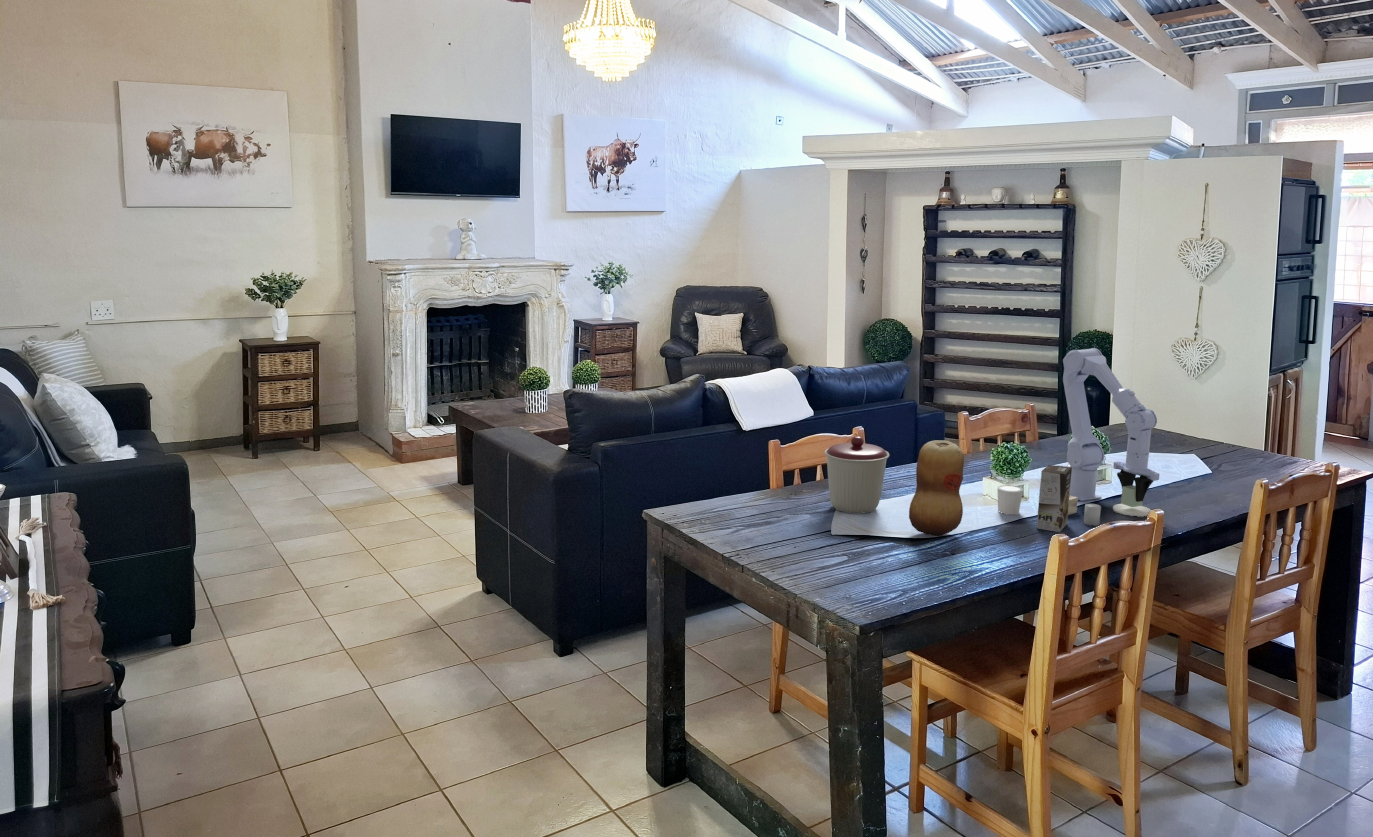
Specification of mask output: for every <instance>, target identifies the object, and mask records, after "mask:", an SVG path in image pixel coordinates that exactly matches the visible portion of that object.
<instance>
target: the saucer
mask: <svg viewBox="0 0 1373 837" xmlns="http://www.w3.org/2000/svg"><path fill="white" fill-rule="evenodd" d="M1112 511H1113V512H1115V513H1116V514H1118V513H1119V515H1122V514H1123V515H1122V516H1126V515H1130V516H1129V517H1133V516H1137V517H1136V518H1145V517H1148V516H1147V514H1148V512H1149V511H1151V512H1152V510H1151V509H1150V508H1149V507H1146V506H1137V507H1130V506H1127V505H1124V504H1121V503H1118V504H1117V503H1116V504H1114V505H1113V506H1112ZM1144 516H1145V517H1144Z"/></svg>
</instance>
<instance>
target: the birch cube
mask: <svg viewBox="0 0 1373 837" xmlns="http://www.w3.org/2000/svg"><path fill="white" fill-rule="evenodd" d="M1078 501H1079V500H1078V497H1074V496H1069V507H1068V516H1069V515H1074V514H1076V513H1077V509H1078Z"/></svg>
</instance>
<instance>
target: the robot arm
mask: <svg viewBox="0 0 1373 837" xmlns="http://www.w3.org/2000/svg"><path fill="white" fill-rule="evenodd" d="M1062 363H1063V376H1062V383H1063V387H1064V394H1065V399H1066V404H1067V412H1068V418H1069V422H1070V428H1071V433H1072V438H1071V439H1070V440H1069V441H1068V443H1067V444H1066V445H1067V454H1066V460H1067V462H1068V465H1066V467H1072V473H1071V484H1070V496H1074V497H1078V501H1081V502H1084V501H1090V500H1098V499H1102V496H1101V495H1097V494H1096V489H1097V478H1098V468H1100V464H1102V463H1103V461H1104V459H1105V453H1104V452H1105V451H1104V450H1103V447H1102V446H1101V443H1100V439H1099V438H1098V437H1096V436H1095V435H1094V434H1093V430H1092V424H1091V418H1090V412H1089V407H1088V406H1089V405H1088V401H1087V395H1086V389H1085V383H1084V382H1085V381H1086V379H1087V378H1088V377H1089V376H1094V377H1095V378H1096V379H1097V380H1098V381H1099V382H1100V383H1101V385H1103V386H1104V387H1105V389H1106V390H1107V391H1108V392H1109V393H1110V394H1111V395H1112V399H1111V401H1112V403H1113V404H1114V406H1115V407H1116V409H1117V410H1118V411H1119V412H1120V413H1121V415H1122V416H1123V417H1124V418H1125V419H1124V424H1125V427H1126V429H1127V447H1126V456H1125V462H1123V461H1114V462H1113V467H1112V468H1113V469H1114V470H1119V472H1117V473H1116V475H1117V478H1118V480H1119V482H1120V486H1121V488H1122V487H1123V486H1130V485H1134V486H1136V501H1137V502H1140V501H1143V502H1144V499H1145V497H1146V493H1147V492H1148V490H1149V488H1150V486H1151V485H1152V484H1153V483H1154V482H1155V481H1159V480H1160V473H1159V472H1157V471H1154V470H1153V469H1150V468H1149V467H1148V466H1149V457H1150V456H1149V455H1150V447H1151V446H1150V445H1151V438H1152V436H1151V435H1152V429H1154V428H1155V427H1156V426H1157V423H1158V421H1157V420H1158V419H1157V416H1156V413H1155V412H1154V411H1153V409H1149V408H1147V407H1145V406H1144V404H1142V402H1141V401H1140V400H1139V398H1137V397H1136V393H1135V391H1134V390H1130V389H1129V388H1124V387H1123V386H1122V384H1121V383H1120V382H1119V380H1118V379H1117V377H1116V376H1115V374H1114V373H1113V371H1112V370H1111V368H1110V367H1109V365H1108V364H1107V357H1106V356H1104V355H1103V354H1102V352H1101V351H1100V349H1098V348H1095V347H1094V348H1093V347H1092V348H1087V349H1085V348H1084V349H1072V350H1070V351H1068V352H1067V353H1066V355H1065V356H1064V358H1063V359H1062Z"/></svg>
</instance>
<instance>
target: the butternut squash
mask: <svg viewBox="0 0 1373 837" xmlns="http://www.w3.org/2000/svg"><path fill="white" fill-rule="evenodd" d="M917 457H918V458H917V462H916V468H915V475H916V476H915V477H916V478H915V481H916V485H915V486H916V488H915V493H914V495H913V497H912V499H911V502H910V504H909V510H908V519H909V521H910V524H911V526H912V527H913V528H914V529H915V530H916V531H917V532H919V533H922V534H924V535H930V536H933V537H942V536H945V535H947V534H949V533H951V532H953V531H955V530H956V529H957V528H958V527H959V526H960V524H961V522H962V519H963V514H964V508H963V507H964V506H963V501H962V498H961V495H960V489H961V486H962V483H963V480H964V466H965V465H964V464H965V463H964V462H965V461H964V460H965V458H964V452H963V450H962V448H960V447H959V446H958V445H957V444H956V443H953V441H952V442H951V441H949V440H940V439H939V440H931V441H928V442H926V443H924V444H923V446H921V448H920V450H919V453H918V456H917Z"/></svg>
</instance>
